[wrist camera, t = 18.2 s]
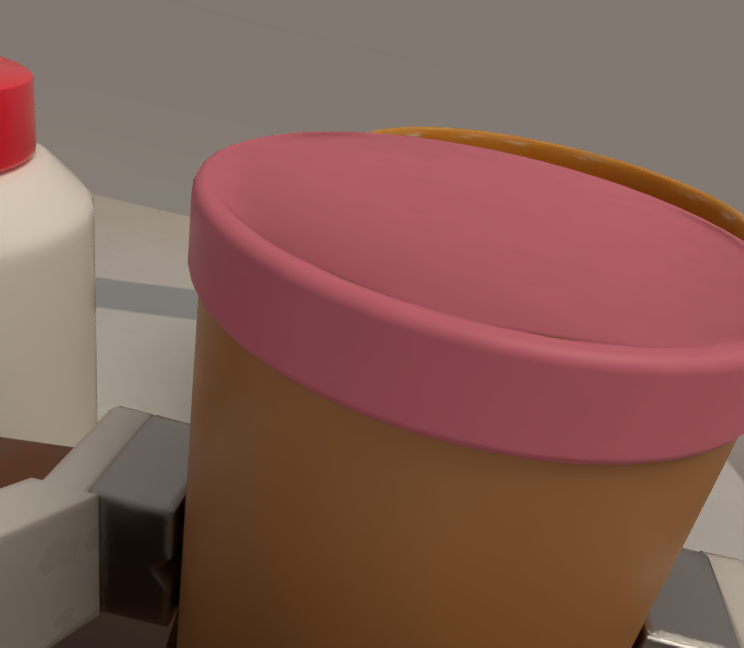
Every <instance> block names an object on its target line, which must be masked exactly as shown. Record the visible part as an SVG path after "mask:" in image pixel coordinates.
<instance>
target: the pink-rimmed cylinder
mask: <svg viewBox="0 0 744 648" xmlns="http://www.w3.org/2000/svg"><path fill="white" fill-rule="evenodd" d="M188 266H189V271H190V275H191V280H192V283H193V285H194V288H195V290H196V292H197V294H198V310H197V326H196V343H195V359H194V375H193V391H192V407H191V423H190V439H189V455H188V471H187V487H186V503H185V520H184V536H183V552H182V568H181V584H180V600H179V616H178V632H177V648H631V647H632V645H633V644H634V642H635V640H636V638H637V636H638V634H639V632H640V630H641V628H642V626H643V624H644V622H645V620H646V618H647V616H648V614H649V612H650V610H651V608H652V606H653V604H654V602H655V600H656V598H657V596H658V594H659V592H660V590H661V588H662V586H663V584H664V582H665V580H666V578H667V576H668V575H669V573H670V571H671V569H672V567H673V565H674V563H675V561H676V559H677V557H678V555H679V553H680V551H681V549H682V547H683V545H684V543H685V541H686V539H687V537H688V535H689V533H690V531H691V529H692V527H693V525H694V523H695V521H696V519H697V517H698V515H699V513H700V511H701V509H702V507H703V506H704V504H705V502H706V500H707V498H708V496H709V494H710V492H711V490H712V488H713V486H714V484H715V482H716V480H717V478H718V476H719V474H720V472H721V470H722V468H723V466H724V464H725V462H726V460H727V458H728V456H729V454H730V452H731V450H732V448H733V446H734V444H735V442H736V440H737V438H738V437H739V436H741V435H742V434H743V433H744V241H742V240H741V239H739V238H737V237H736V236H734V235H732V234H731V233H729V232H727V231H725V230H724V229H722V228H720V227H718V226H716V225H714V224H712V223H710V222H708V221H706V220H704V219H702V218H700V217H698V216H696V215H694V214H692V213H690V212H687V211H685V210H683V209H681V208H679V207H676V206H674V205H672V204H669V203H667V202H664V201H662V200H659V199H657V198H655V197H652V196H650V195H647V194H644V193H641V192H639V191H636V190H633V189H631V188H628V187H625V186H622V185H619V184H616V183H613V182H610V181H607V180H604V179H601V178H598V177H595V176H592V175H589V174H585V173H582V172H579V171H575V170H572V169H568V168H565V167H561V166H557V165H554V164H550V163H547V162H543V161H539V160H534V159H530V158H526V157H522V156H518V155H514V154H509V153H504V152H500V151H495V150H491V149H485V148H480V147H475V146H470V145H464V144H458V143H452V142H446V141H440V140H433V139H425V138H418V137H410V136H400V135H391V134H378V133H364V132H301V133H288V134H280V135H272V136H266V137H262V138H256V139H251V140H247V141H243V142H240V143H237V144H234V145H230V146H228V147H226V148H224V149H222V150H220V151H218V152H216V153H214V154H213V155H212V156H211V157H209V158H208V159H207V160H205V161H204V163H203V164H202V166H201V167H200V169H199V171H198V172H197V174H196V176H195V178H194V180H193V187H192V196H191V214H190V233H189V252H188Z"/></svg>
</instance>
